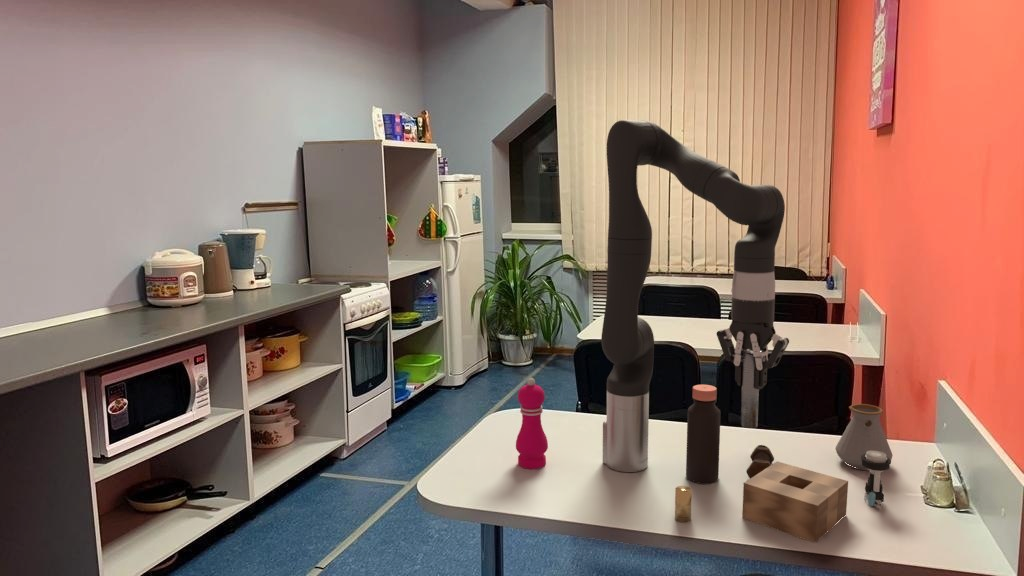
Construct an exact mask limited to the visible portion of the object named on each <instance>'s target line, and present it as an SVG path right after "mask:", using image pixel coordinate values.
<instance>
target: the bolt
mask: <svg viewBox="0 0 1024 576" xmlns="http://www.w3.org/2000/svg"><path fill="white" fill-rule="evenodd" d="M750 459H751V463H750V465H749V466H748V467H747V469H746V475H747V477H748V478H749V479H751V478H752V477H754V476H755V475H757V474H758V473H760V472H761V471H763V470H764V469H766V468H768V467H769V466H771V465H772V463H773V462H774V460H775V456H774V455H773V453H772V450H771V449H770V448H769V447H768V446H766V445H764V444H758V445H757V446H756V447H755V448H754V449H753V451H752V452H751V454H750Z"/></svg>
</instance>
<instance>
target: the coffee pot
mask: <svg viewBox="0 0 1024 576" xmlns="http://www.w3.org/2000/svg"><path fill="white" fill-rule="evenodd" d="M848 409H849V410H850V412H851V413H852V417H851V419H850V420H849V422H848V425H847V426H846V428H845V430H844V432H843V433H842V435H841V437H840V439H838V440H839V441H838V442H837V444H836V446H835V452H836V454H837V456H838V457H839V459H840V460H842V462H843V463H844V462H846V463H847V464H849V465H851V466H853V467H856V468H858V469H857V470H860V469H862V470H861V471H868V472H870V470H868V469H867V468H866V467H864V466H863V465H862V460H861V456H862V455H863V454H866V452H867V451H871V450H872V451H873V450H874V451H880V452H883V453H885V454H886V457H888V458H889V459H891V460H893V451H892V449H891V447H890V444H889V442H888V440H887V436H886V434H885V432H884V429H883V427H882V424H881V421H880V416H881V414H882V413H883V409H882V408H881V407H879V406H876V405H872V404H866V403H855V404H852V405H850V406H848ZM856 468H855V469H856Z"/></svg>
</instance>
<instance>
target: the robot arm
mask: <svg viewBox="0 0 1024 576" xmlns="http://www.w3.org/2000/svg"><path fill="white" fill-rule="evenodd" d="M606 163H607V164H606V165H607V176H608V230H607V249H606V250H607V265H606V266H607V268H606V269H607V271H606V296H605V297H606V299H605V307H604V308H605V309H604V314H603V315H604V316H603V323H602V330H601V337H600V341H601V348H602V351H603V353H604V355H605V356H606V358H607V360H608V361H610V362H611V363H612V364H613V367H612V369H611V371H610V373H609V375H608V376H607V378H606V420H605V421H603V423H602V463H603V464H605V465H606V466H607V467H608V468H609V469H612V470H614V471H616V472H617V471H618V472H623V473H637V472H641V471H643V470H645V469H647V468H648V464H649V460H648V459H649V422H650V421H649V420H650V419H649V413H650V410H649V409H650V384H651V380H652V377H653V374H654V373H653V372H654V360H655V359H654V355H655V336H654V331H653V329H652V327H651V325H650V324H649V323H648V321H646V320H644V319H643V318H641V317H639V303H640V302H639V301H640V296H641V293H642V290H643V287H644V283H645V281H646V278H647V276H648V271H649V269H650V265H651V261H652V245H653V243H652V242H653V230H652V225H651V222H650V219H649V217H648V214H647V212H646V210H645V208H644V204H643V203H642V200H641V198H640V196H639V195H640V194H639V191H638V190H639V189H638V166H639V167H640V166H648V165H649V166H653V167H657V168H660V169H663V170H666V171H667V172H669V173H671V174H672V175H673V176H675V178H676V179H677V181H679V183H680V184H681V185H682V186H683V187H684V189H686V190H687V191H689V192H691V193H692V194H693V195H696V196H697V197H699V198H701V199H702V200H704V201H706V202H709V203H711V204H713V206H714V207H715V208H716V209H717V210H718V211H719V212H720V213H721V214H723V216H725V218H728V220H730V221H731V222H734V223H736V224H739V225H742V226H748V227H747V232H746V234H745V235H744V236H743V237H742V238H740V239H738V240H737V242H736V243H735V245H734V254H733V255H734V259H733V276H732V280H731V281H732V282H731V291H730V292H731V316H730V317H731V323H730V325H729V328H723V329H720V330H717V332H716V337H717V340H718V342H719V344H720V348H721V351H722V352H723V357H724V359H725V360H726V361H727V362H731V363H732V364H734V368H735V369H734V381H735V383H736V385H737V386H741V387H742V367H743V352H746V351H753V356H754V358H755V361H756V368H757V369H756V370H755V389H759V390H762V389H763V388H764V387H765V386H766V385H767V383H768V369H772V368H774V367H776V366H778V364H779V363H780V361H781V359H782V357H783V356H784V353H785V351H786V349H787V347H788V345H789V343H790V339H789V337H782V336H780V335H779V334H778V333H776V330H775V327H774V322H775V306H776V305H775V304H776V303H775V302H776V298H775V297H776V277H775V263H776V262H775V260H776V254H775V253H776V246H777V243H778V240H779V237H780V234H781V230H782V226H783V222H784V218H785V212H786V211H785V210H786V209H785V208H786V206H785V205H786V204H785V200H784V196H783V194H782V192H781V190H779V188H777V187H776V186H774V185H770V184H755V185H752V184H750V185H749V184H746V183H743V182H741V180H740V177H739V176H738V174H737V173H736V172H735V171H733V170H731V169H730V168H728V167H725V166H724V165H722V164H720V163H718V162H716V161H713V160H712V159H709V158H707V157H705V156H703V155H702V154H699V153H698V152H696V151H694V150H693V149H691V148H689V147H688V146H686V145H684V144H683V143H682V142H680V141H679V140H677V139H676V138H675V137H674V136H672V134H670V133H668V132H667V131H666V130H665V129H663V128H662V127H661V126H659V125H658V124H656V123H654V122H653V121H649V120H639V119H638V120H637V119H635V120H634V119H619V120H617V121H616V122H614V123H613V125H612V126H610V129H609V132H608V134H607V139H606ZM733 338H734V341H735V342H736V343H735V345H734V343H733V341H732V339H733ZM771 341H772V347H773V349H772V350H771V352H770V355H769V348H768V345H769V344H770V343H771ZM768 355H769V356H768Z"/></svg>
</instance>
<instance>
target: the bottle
mask: <svg viewBox="0 0 1024 576" xmlns="http://www.w3.org/2000/svg"><path fill="white" fill-rule="evenodd" d="M717 394H718V389H717V387H715V386H714V385H710V384H696V385H693V386H692V400H693V403H692V404H691V405H690V406H689V407H688V408H687V416H686V417H687V418H686V419H687V420H686V421H687V424H686V425H687V426H686V428H687V429H686V455H685V456H686V461H685V462H686V463H685V477H686V478H687V479H688V480H689V481H690V482H694V483H696V484H704V485H705V484H707V485H709V484H714V483H716V482H718V480H719V474H720V473H719V471H720V470H719V469H720V468H719V467H720V464H719V463H720V442H721V410H720V409H719V408H718V406H716V404H715V403H716V402H717Z"/></svg>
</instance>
